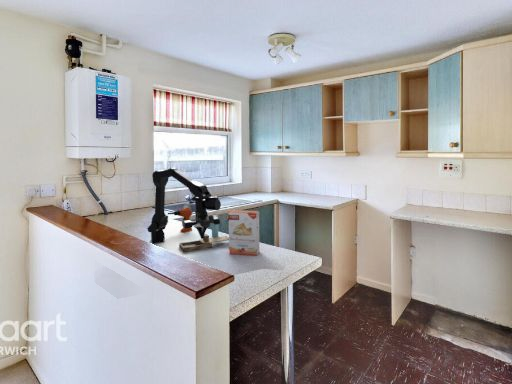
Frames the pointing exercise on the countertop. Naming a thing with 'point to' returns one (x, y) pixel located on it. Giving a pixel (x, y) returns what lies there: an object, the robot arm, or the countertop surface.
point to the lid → (213, 239)
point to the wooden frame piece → (194, 246)
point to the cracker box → (243, 232)
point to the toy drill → (186, 214)
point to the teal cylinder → (214, 229)
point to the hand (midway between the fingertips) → (202, 238)
